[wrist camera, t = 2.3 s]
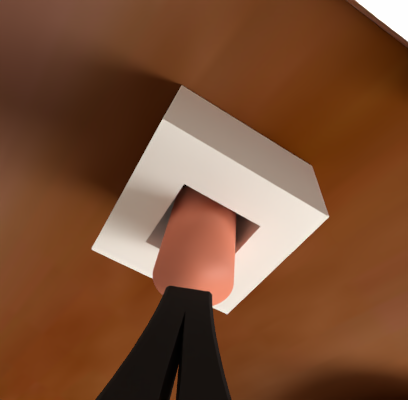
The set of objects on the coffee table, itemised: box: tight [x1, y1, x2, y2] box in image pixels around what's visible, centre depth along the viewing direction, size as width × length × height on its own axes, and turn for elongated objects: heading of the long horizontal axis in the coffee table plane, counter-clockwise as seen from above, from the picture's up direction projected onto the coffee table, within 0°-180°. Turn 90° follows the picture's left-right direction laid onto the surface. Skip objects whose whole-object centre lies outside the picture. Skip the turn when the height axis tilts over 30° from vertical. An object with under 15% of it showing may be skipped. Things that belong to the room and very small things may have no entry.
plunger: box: [153, 186, 237, 306], centre depth 14 cm, size 3×3×4 cm
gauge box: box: [92, 85, 329, 314], centre depth 16 cm, size 7×7×4 cm
